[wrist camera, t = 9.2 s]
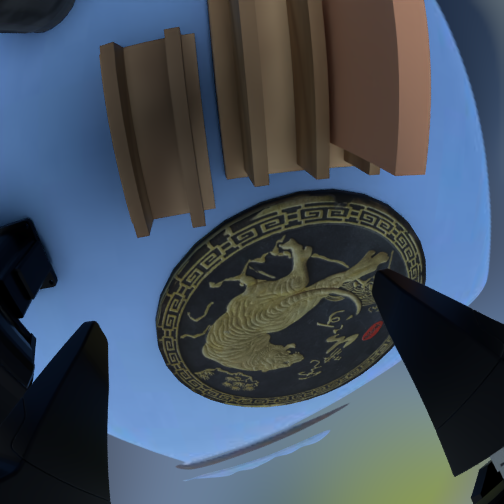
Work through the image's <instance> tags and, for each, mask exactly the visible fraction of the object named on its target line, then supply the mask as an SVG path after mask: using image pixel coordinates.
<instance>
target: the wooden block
mask: <svg viewBox="0 0 504 504" xmlns="http://www.w3.org/2000/svg"><path fill="white" fill-rule="evenodd" d="M321 2H322V10H323V20H324V30H325V41H326V54H327V70H328V90H329V126H330V143H332V144H334V145H336V146H338V147H340V148H342V149H344V150H346V151H349V152H351V153H353V154H355V155H357V156H359V157H361V158H363V159H365V160H366V161H368V162H370V163H372V164H374V165H376V166H378V167H380V168H382V169H383V170H385V171H387V172H389V173H391V174H392V175H394V176H403V175H425V171H426V162H427V153H428V142H429V129H430V107H431V70H430V49H429V37H428V27H427V18H426V11H425V4H424V0H323V1H321Z"/></svg>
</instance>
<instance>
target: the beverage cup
mask: <svg viewBox="0 0 504 504" xmlns="http://www.w3.org/2000/svg"><path fill="white" fill-rule="evenodd" d="M74 2H75V0H0V33H32V32H34V33H41V32H45V31H47V30H49V29H52V28H53V27H55V26H56V25H57V24H59V23H60V22H61V21H62V20H63V19H64V18H65V17H66V16H67V15H68V13H69V11H70V10H71V8H72V7H73V5H74Z"/></svg>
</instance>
